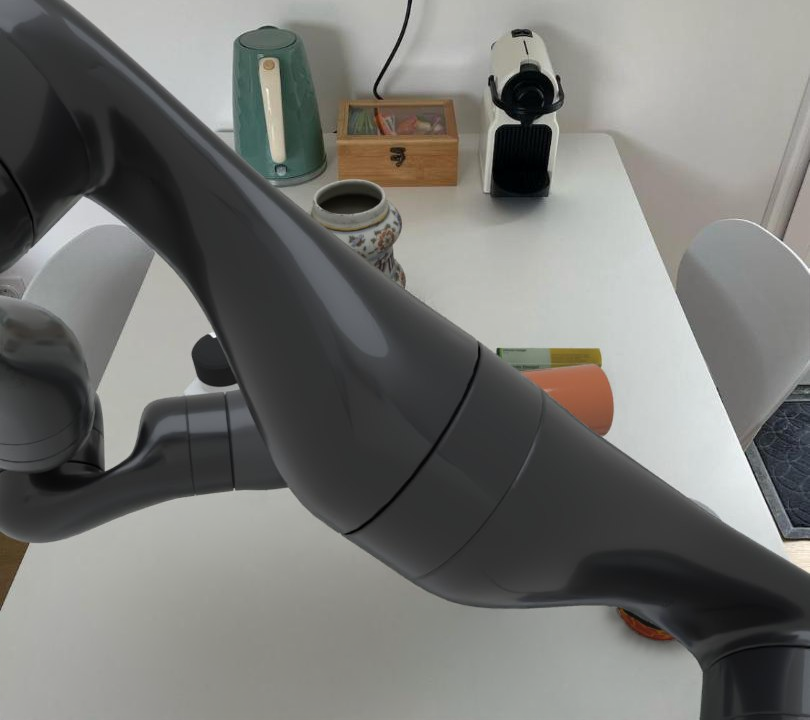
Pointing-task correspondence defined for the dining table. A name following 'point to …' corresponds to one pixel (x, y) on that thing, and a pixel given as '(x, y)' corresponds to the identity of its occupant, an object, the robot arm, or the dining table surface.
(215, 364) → the medicine bottle
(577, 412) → the jar
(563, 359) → the medication box
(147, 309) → the dining table surface
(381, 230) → the apothecary jar
